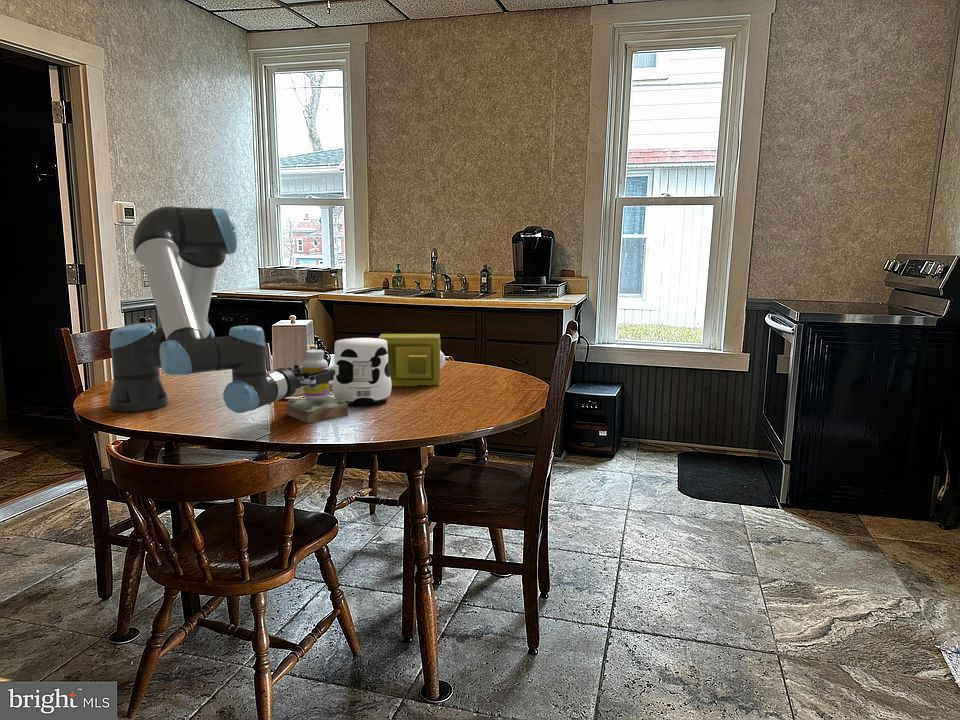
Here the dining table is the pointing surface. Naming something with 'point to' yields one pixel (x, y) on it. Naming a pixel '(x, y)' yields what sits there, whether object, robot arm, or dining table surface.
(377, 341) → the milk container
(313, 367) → the supplement bottle
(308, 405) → the base plate
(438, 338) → the olive green rectangular box
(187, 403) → the dining table surface
